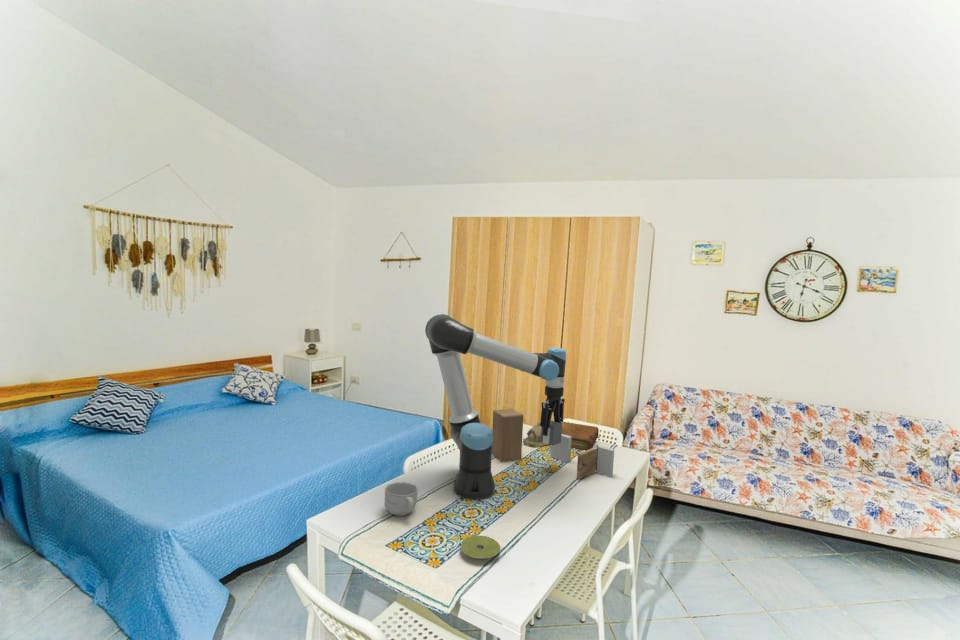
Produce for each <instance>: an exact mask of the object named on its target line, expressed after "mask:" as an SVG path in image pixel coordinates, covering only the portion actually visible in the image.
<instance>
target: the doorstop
mask: <svg viewBox="0 0 960 640" xmlns="http://www.w3.org/2000/svg"><path fill="white" fill-rule="evenodd" d="M549 428H550V439H549V445H548V446H551V445H552V446H553V445H556V444H558V443H561V433H562V423H559V422H555V421H554V420H552V419H551V421H550V425H549ZM540 442H543V427H542V426H541V441H540Z"/></svg>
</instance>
